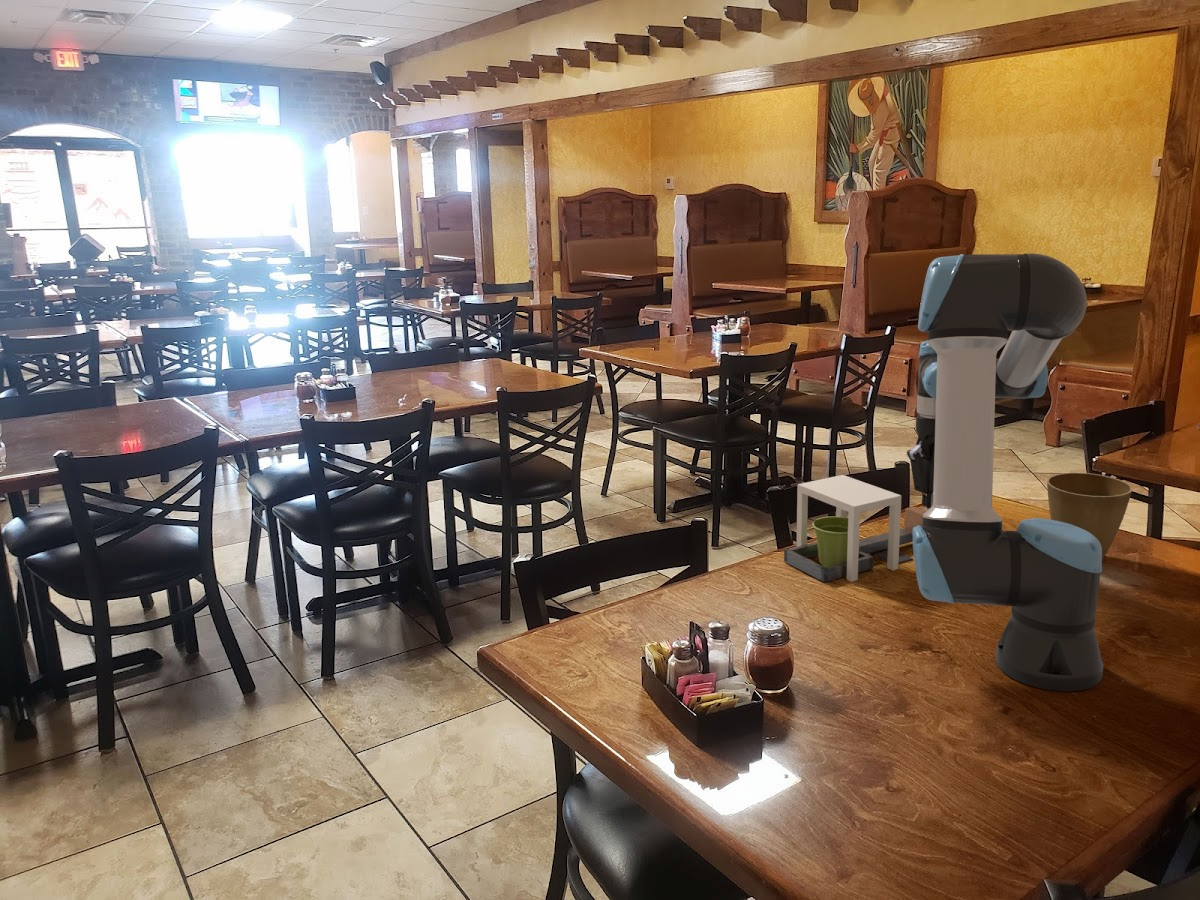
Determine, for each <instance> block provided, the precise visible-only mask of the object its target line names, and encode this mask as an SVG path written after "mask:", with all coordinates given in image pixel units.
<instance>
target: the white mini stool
mask: <svg viewBox="0 0 1200 900" xmlns="http://www.w3.org/2000/svg"><path fill="white" fill-rule="evenodd" d="M796 492H797V493H796V495H797V496H796V497H797V499H796V500H797V502H796V503H797V504H796V547H798V546H802V545H806V544H808V511H809V510H808V506H809V504H808V503H809V500H808V499H809V497H810V498H813V499H815V500H818V501H821V502H822V503H824V504H825V503H826V504H827V505H831V506H833V507H835V508H836V510H835V511H836V513H835V515H836V517H845V518H848V545H847V576H846V580H848V582H849V581H850V582H851V583H852V582H856V581H858V580H859V572H858V555H859V540H860V528H859V525H860V526H861V523H860V522H861V520H860V519H861V518H860V517H861V513H863V512H868V511H873V510H877V509H880V508H881V509H882V508H884V507H889V513H888V532H889V534H888V548H887V549H883V550H879V551H876V552H872V553H869V555H871V554H873V557H877V558H878V559H881V560H884V561H885V562H887V563H886V564H887V565H886V568H887V569H889V570H890V571H895V570H899V564H902V563H905V562H909V561H913V560H914V557H911V556H909V555H907V554H904V553H903V552H900V545H899V538H900V529H901V515H902V495H901V494H898V493H895V492H893V491H890V490H886V489H884V488H881V487H879V486H876V485H873V484H870V483H866V482H864V481H861V480H859V479H856V478H853V477H851V476H847V475H844V474H841V475H836V476H831V477H830V476H829V477H827V478H826V477H825V478H822V479H817V480H812V481H807V482H802V483H798V484H797V491H796ZM847 513H848V517H847Z"/></svg>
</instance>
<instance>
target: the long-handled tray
mask: <svg viewBox="0 0 1200 900" xmlns="http://www.w3.org/2000/svg"><path fill="white" fill-rule="evenodd" d="M925 512H926V511H925V510H923V508H922V509H921V508H919V507H916V506H910V507H907V508H905V509H904V525H903V526H904V527H903V528H900V538H899V546H902V545H905V544H906V545H907V544H909V543H913V535H912V530H913V528H914V527H916V526H918V525H921V527H922V524H923V514H924V513H925ZM888 534H889V531H887V532H884V533H880V534H876V535H873V536H868V537H865V538H861V539H860V538H859V555H858V573H861V572H865V571H869V570H873V569H874V555H871V554H870V553H872V552H875V553H877V552H876V551H879V550H883V549H887V548H888ZM887 550H888V549H887ZM883 551H884V550H883ZM879 552H880V551H879ZM872 554H873V553H872ZM815 556H819V554H818V546H817V541H815V542H810V543H807V544H806V545H802V546H798V547H797V546H795V547H792V548H787V549H784V550H783V562H785V563H786V564H789V565H790V566H792V567H794V568H797V569H798V570H801V571H802V572H803V573H806V574H808V575H810V576H811V577H814V578H816V579H817V580H819V581H821V582H823V583H825V582H828V581H832V580H836V579H839V578H844V577H847V562H843V563H839V564H835V565H831V566H828V567H824V566H822V565H821V564H819V563H818V562H815V561H814V560H811V559H810V558H811V557H815Z"/></svg>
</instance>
